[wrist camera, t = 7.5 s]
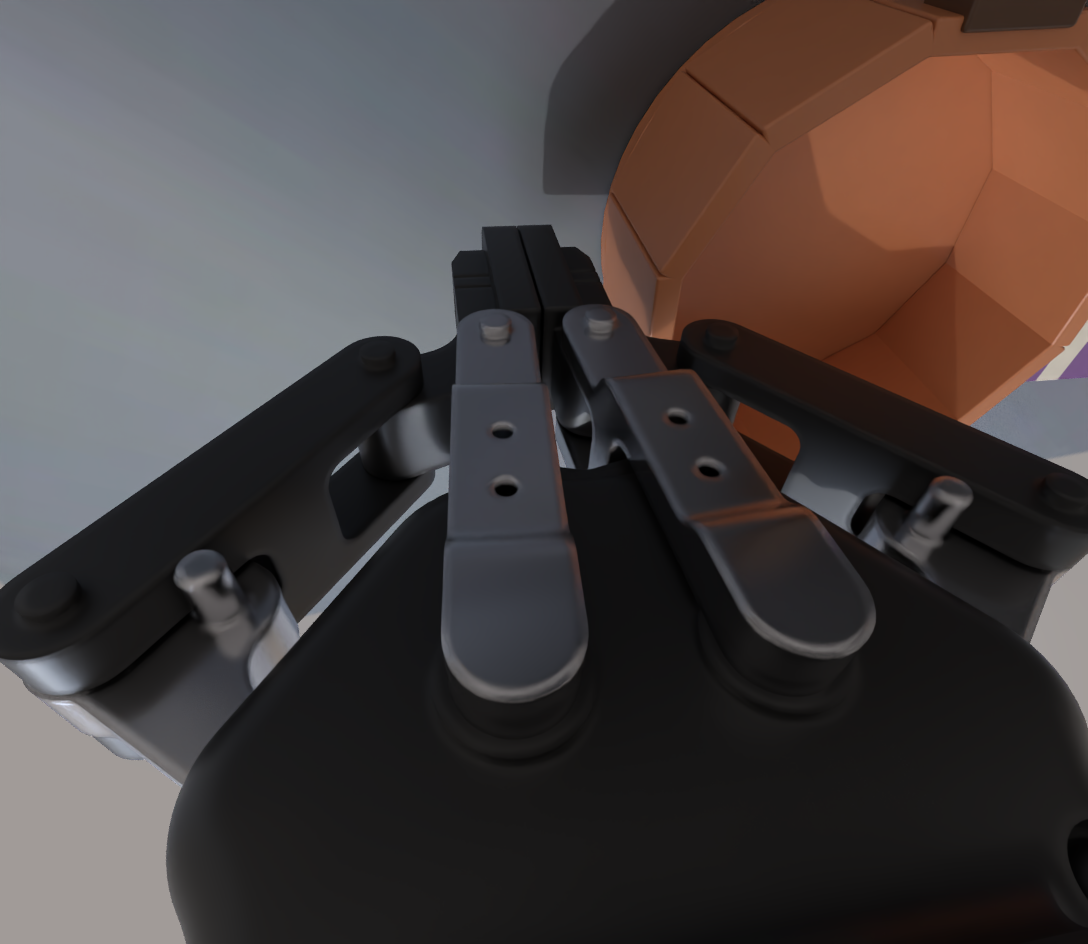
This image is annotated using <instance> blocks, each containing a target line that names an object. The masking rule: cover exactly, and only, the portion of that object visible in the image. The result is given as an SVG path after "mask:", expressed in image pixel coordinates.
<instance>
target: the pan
mask: <svg viewBox="0 0 1088 944" xmlns="http://www.w3.org/2000/svg"><path fill="white" fill-rule="evenodd" d="M1087 1H1088V0H765V1H764V2H762V3H761V4H759V5H757V6H756V7H754V8H752V9H751V10H749V11H748V12H746V13H744V14H743V15H741V16H739V17H738V18H736V19H735V20H733V21H732V22H731V23H730V24H728V25H727V26H726V27H725V28H723V29H722V30H721V31H720V32H718V33H717V34H716V35H714V36H713V37H712V38H711V39H709V40H708V41H707V42H706V43H705V44H704V45H703V46H702V47H701V48H700V49H699V50H698V51H697V52H696V53H695V54H693V55H692V56H691V57H690V58H689V59H688V60H687V61H686V62H685V63H684V64H683V65H682V66H681V67H680V68H679V70H678V71H677V72H676V73H675V74H674V76H673V77H672V78H671V79H670V81H669V82H668V83H667V84H666V85H665V87H664V88H663V89H662V90H661V92H660V93H659V94H658V95H657V97H656V98H655V100H654V101H653V103H652V104H651V106H650V107H649V109H648V110H647V112H646V113H645V115H644V116H643V118H642V119H641V121H640V123H639V124H638V126H637V128H636V130H635V131H634V133H633V135H632V137H631V139H630V141H629V143H628V145H627V147H626V149H625V151H624V153H623V155H622V158H621V160H620V163H619V166H618V168H617V171H616V174H615V176H614V179H613V182H612V184H611V188H610V192H609V196H608V200H607V204H606V208H605V212H604V220H603V228H602V236H601V265H602V271H603V278H604V281H603V287H604V289H605V291H606V293H607V296H608V298H609V300H610V302H611V304H612V306H614V307H617V308H620V309H622V310H624V311H626V312H628V313H629V314H630V315H631V316H633V318H634V319H635V320H636V322H637V323H638V325H639V326H640V328H641V329H642V331H643V333H644V334H645V336H649V337H654V338H660V339H668V340H675V341H680V340H681V335H682V331H683V329H684V328H685V327H686V326H687V325H688V324H690V323H692V322H694V321H697V320H702V319H719V320H725V321H729V322H733V323H736V324H738V325H741V326H743V327H745V328H748V329H750V330H752V331H754V332H757V333H759V334H761V335H764V336H766V337H768V338H770V339H773V340H775V341H777V342H779V343H782V344H784V345H786V346H789V347H791V348H793V349H795V350H798V351H800V352H802V353H804V354H807V355H809V356H811V357H814V358H816V359H818V360H820V361H823V362H825V363H827V364H830V365H832V366H834V367H836V368H839V369H841V370H843V371H845V372H848V373H850V374H852V375H855V376H857V377H859V378H861V379H864V380H866V381H868V382H870V383H873V384H875V385H877V386H880V387H882V388H884V389H886V390H889V391H891V392H893V393H896V394H898V395H900V396H902V397H905V398H907V399H909V400H911V401H914V402H916V403H918V404H921V405H923V406H925V407H927V408H930V409H932V410H934V411H936V412H939V413H941V414H943V415H946V416H948V417H950V418H952V419H955V420H957V421H959V422H961V423H964V424H966V425H968V426H970V425H971V424H972V423H974V422H975V421H976V420H977V419H979V418H980V417H981V416H982V415H984V414H985V413H986V412H987V411H989V410H990V409H991V408H993V407H994V406H995V405H996V404H998V403H999V402H1000V401H1001V400H1003V399H1004V398H1005V397H1006V396H1008V395H1009V394H1010V393H1011V392H1013V391H1014V390H1015V389H1016V388H1018V387H1019V386H1020V385H1022V384H1023V383H1024V382H1025V381H1027V380H1028V379H1029V378H1030V377H1032V376H1033V375H1034V374H1035V373H1037V372H1038V371H1039V370H1040V369H1042V368H1043V367H1044V366H1045V365H1047V364H1048V363H1049V362H1050V361H1052V360H1053V359H1054V358H1056V357H1057V356H1058V355H1059V354H1061V353H1062V352H1063V351H1064V350H1065V348H1064V347H1063V346H1068V345H1070V344H1071V343H1072V341H1073V340H1074V338H1075V337H1076V336H1077V334H1078V333H1079V331H1080V330H1081V329H1082V327H1083V326H1084V325H1085V323H1086V322H1087V320H1088V7H1086V6H1085V5H1086V3H1087ZM733 426H734V427H735V429H736V430H737V431H738V432H740V433H742V434H744V435H746V436H748V437H749V438H751V439H753V440H755V441H757V442H759V443H761V444H763V445H765V446H766V447H768V448H770V449H772V450H774V451H776V452H778V453H780V454H781V455H783V456H785V457H787V458H789V459H791V460H793V461H795V459H796V457H797V455H798V453H799V450H800V441H799V438H798V436H797V435H796V433H795V432H794V431H793V430H792V429H791V428H790V427H788V426H786V425H784V424H782V423H780V422H778V421H776V420H774V419H772V418H770V417H768V416H766V415H764V414H763V413H761V412H759V411H757V410H755V409H753V408H751V407H749V406H747V405H745V404H743V403H741V402H740V405H739V408H738V411H737V414H736V417H735V420H734V423H733Z"/></svg>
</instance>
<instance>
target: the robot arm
mask: <svg viewBox="0 0 1088 944" xmlns="http://www.w3.org/2000/svg"><path fill="white" fill-rule="evenodd" d="M452 277H453V290H454V304H455V317H456V329H457V335H456V337H455V338H454V339H453V340H452V341H451V342H450V343H448V344H447V345H445V346H443V347H441V348H439V349H437V350H434V351H431V352H427V353H423V354H420V351H419V350H418V348H417V347H416V346H415V345H414V344H412V343H411V342H409V341H407V340H405V339H401V338H398V337H391V336H377V337H370V338H365V339H362V340H359V341H356V342H354V343H352V344H350V345H348V346H347V347H345V348H344V349H342V350H341V351H340V352H338V353H337V354H335V355H334V356H332V357H331V358H330V359H328V360H327V361H325V362H324V363H322V364H321V365H319V366H318V367H317V368H315V369H314V370H312V371H311V372H309V373H308V374H307V375H305V376H304V377H302V378H301V379H299V380H298V381H296V382H295V383H294V384H292V385H291V386H289V387H288V388H286V389H285V390H283V391H282V392H281V393H279V394H278V395H276V396H275V397H273V398H272V399H271V400H269V401H268V402H266V403H265V404H263V405H262V406H260V407H259V408H258V409H256V410H255V411H253V412H252V413H250V414H249V415H248V416H246V417H245V418H243V419H242V420H240V421H239V422H237V423H236V424H235V425H233V426H232V427H230V428H229V429H227V430H226V431H224V432H223V433H222V434H220V435H219V436H217V437H216V438H214V439H213V440H212V441H210V442H209V443H207V444H206V445H204V446H203V447H201V448H200V449H199V450H197V451H196V452H194V453H193V454H191V455H190V456H189V457H187V458H186V459H184V460H183V461H181V462H180V463H178V464H177V465H176V466H174V467H173V468H171V469H170V470H168V471H167V472H165V473H164V474H163V475H161V476H160V477H158V478H157V479H155V480H154V481H153V482H151V483H150V484H148V485H147V486H145V487H144V488H142V489H141V490H140V491H138V492H137V493H135V494H134V495H132V496H131V497H130V498H128V499H127V500H125V501H124V502H122V503H121V504H119V505H118V506H117V507H115V508H114V509H112V510H111V511H109V512H108V513H106V514H105V515H104V516H102V517H101V518H99V519H98V520H96V521H95V522H94V523H92V524H91V525H89V526H88V527H86V528H85V529H83V530H82V531H81V532H79V533H78V534H76V535H75V536H73V537H72V538H70V539H69V540H68V541H66V542H65V543H63V544H62V545H60V546H59V547H58V548H56V549H55V550H53V551H52V552H50V553H49V554H47V555H46V556H45V557H43V558H42V559H40V560H39V561H37V562H36V563H35V564H33V565H32V566H30V567H29V568H27V569H26V570H24V571H23V572H22V573H20V574H19V575H17V576H16V577H15V578H13V579H12V580H11V581H9V582H8V583H7V584H6V585H5V586H4V587H2V588H1V589H0V662H1V663H2V664H3V665H5V666H6V667H7V668H8V669H10V670H11V671H12V672H13V673H15V674H16V675H17V676H18V677H19V678H21V679H22V680H23V683H24V685H25V686H26V688H27V689H28V690H29V691H30V692H31V693H32V694H34V695H35V696H36V697H37V698H39V699H40V700H41V701H43V702H44V703H45V704H46V705H47V706H49V707H50V708H51V709H52V710H54V711H55V712H56V713H58V714H59V715H60V716H61V717H63V718H64V719H65V720H66V721H68V722H69V723H70V724H71V725H73V726H74V727H75V728H76V729H78V730H79V731H80V732H82V733H84V734H86V735H89V736H93V737H94V738H95V739H96V740H97V741H99V742H100V743H101V744H102V745H104V746H105V747H106V748H107V749H108V750H110V751H111V752H112V753H114V754H115V755H116V756H119V757H121V758H124V759H129V760H143V759H145V760H146V761H147V762H149V763H150V764H151V765H153V766H154V767H155V768H157V769H158V770H159V771H160V772H162V773H163V774H164V775H166V776H167V777H168V778H169V779H171V780H172V781H173V782H175V783H176V784H177V785H179V786H180V787H181V790H180V793H179V796H178V798H177V801H176V804H175V807H174V810H173V814H172V818H171V822H170V826H169V833H168V840H167V851H166V867H167V879H168V885H169V891H170V895H171V899H172V903H173V905H174V908H175V911H176V913H177V916H178V919H179V922H180V924H181V927H182V930H183V934H184V937H185V941H186V944H1088V728H1087V724H1086V721H1085V718H1084V716H1083V713H1082V711H1081V709H1080V707H1079V704H1078V702H1077V701H1076V699H1075V697H1074V695H1073V694H1072V692H1071V690H1070V689H1069V687H1068V685H1067V684H1066V683H1065V681H1064V680H1063V679H1062V677H1061V676H1060V675H1059V673H1058V672H1057V671H1056V669H1055V668H1054V667H1053V666H1052V665H1051V664H1050V663H1049V662H1048V661H1047V660H1046V658H1045V657H1044V656H1043V655H1042V654H1041V653H1039V652H1038V651H1037V650H1036V649H1035V648H1034V647H1033V646H1032V645H1031V644H1030V641H1031V639H1032V636H1033V633H1034V631H1035V628H1036V625H1037V622H1038V620H1039V617H1040V615H1041V612H1042V609H1043V607H1044V604H1045V601H1046V599H1047V596H1048V593H1049V591H1050V588H1051V586H1052V585H1053V584H1055V583H1056V582H1057V581H1058V580H1059V579H1060V578H1061V577H1062V576H1063V575H1064V574H1065V573H1067V572H1068V571H1069V570H1070V569H1071V568H1072V567H1073V566H1074V565H1075V564H1077V563H1078V562H1079V561H1080V560H1081V559H1082V558H1083V557H1084V556H1085V555H1086V554H1088V479H1086V478H1084V477H1083V476H1081V475H1079V474H1077V473H1075V472H1073V471H1070V470H1068V469H1066V468H1064V467H1062V466H1059V465H1057V464H1055V463H1052V462H1050V461H1048V460H1046V459H1043V458H1041V457H1039V456H1037V455H1034V454H1032V453H1030V452H1027V451H1025V450H1023V449H1021V448H1018V447H1016V446H1014V445H1012V444H1009V443H1007V442H1005V441H1002V440H1000V439H998V438H996V437H993V436H991V435H989V434H987V433H984V432H982V431H980V430H977V429H975V428H973V427H971V426H968V425H966V424H964V423H961V422H959V421H957V420H955V419H952V418H950V417H948V416H946V415H943V414H941V413H939V412H936V411H934V410H932V409H930V408H927V407H925V406H923V405H921V404H918V403H916V402H914V401H911V400H909V399H907V398H905V397H902V396H900V395H898V394H896V393H893V392H891V391H889V390H886V389H884V388H882V387H880V386H877V385H875V384H873V383H870V382H868V381H866V380H864V379H861V378H859V377H857V376H855V375H852V374H850V373H848V372H845V371H843V370H841V369H839V368H836V367H834V366H832V365H830V364H827V363H825V362H823V361H820V360H818V359H816V358H814V357H811V356H809V355H807V354H804V353H802V352H800V351H798V350H795V349H793V348H791V347H789V346H786V345H784V344H782V343H779V342H777V341H775V340H773V339H770V338H768V337H766V336H764V335H761V334H759V333H757V332H754V331H752V330H750V329H748V328H745V327H743V326H741V325H738V324H736V323H733V322H729V321H725V320H719V319H702V320H697V321H694V322H692V323H690V324H688V325H687V326H686V327H685V328H684V329H683V331H682V335H681V340H680V341H675V340H668V339H660V338H654V337H649V336H645V334H644V333H643V331H642V329H641V328H640V326H639V325H638V323H637V322H636V320H635V319H634V318H633V316H631V315H630V314H629V313H628V312H626V311H624V310H622V309H620V308H617V307H614V306H612V304H611V302H610V300H609V298H608V296H607V293H606V291H605V289H604V287H603V285H602V283H601V282H600V278H599V276H598V274H597V272H595V268H594V266H593V263H592V261H591V259H590V257H589V256H587V255H586V254H584V253H583V252H582V251H580V250H579V249H578V248H576V247H560V245H559V243H558V240H557V238H556V235H555V233H554V230H553V228H552V226H551V225H523V226H517V228H516V226H494V227H482V250H477V251H460V252H459V253H458V254H457V256H456V257H455V259H454V260H453V261H452ZM740 402H741V403H743V404H745V405H747V406H749V407H751V408H753V409H755V410H757V411H759V412H761V413H763V414H764V415H766V416H768V417H770V418H772V419H774V420H776V421H778V422H780V423H782V424H784V425H786V426H788V427H790V428H791V429H792V430H793V431H794V432H795V433H796V435H797V436H798V438H799V441H800V450H799V453H798V455H797V457H796V459H795V461H793V460H791V459H789V458H787V457H785V456H783V455H781V454H780V453H778V452H776V451H774V450H772V449H770V448H768V447H766V446H765V445H763V444H761V443H759V442H757V441H755V440H753V439H751V438H749V437H748V436H746V435H744V434H742V433H740V432H738V431H737V430H736V429H735V427H734V426H733V423H734V420H735V417H736V414H737V411H738V408H739V405H740ZM551 410H555V412H556V427H555V432H554V425H553V419H552V412H551ZM555 437H556V439H555ZM556 441H557V443H558V446H559V449H560V451H561V454H562V456H563V459H564V462H565V464H566V467H567V468H562V467H560V466H559V459H558V452H557V446H556ZM357 447H358V448H359V453H357V454H356V455H355V456H354V457H353V458H352V459H350V460H349V461H348V462H347V463H346V464H345V465H344V466H342V467H341V468H340V469H339V470H338V471H337V472H336V473H334V474H333V475H332V476H331V474H332V472H333V470H334V469H335V467H336V466H337V465H338V464H339V463H340V462H341V461H342V460H343V459H344V458H345V457H346V456H348V455H349V454H350V453H351V452H352V451H353V450H355V449H356V448H357ZM447 465H449V493H446V494H444V495H441V496H439V497H438V498H436V499H434V500H432V501H430V502H428V503H427V504H425V505H424V506H422V507H421V508H419V509H418V510H416V511H415V512H414V513H413V514H412V515H410V516H409V517H408V518H407V519H406V520H405V521H404V522H403V523H402V524H401V525H400V526H399V527H398V528H397V529H396V530H395V532H394V533H393V534H392V535H391V536H390V537H389V538H388V539H387V541H386V542H385V543H384V544H383V545H382V546H381V547H380V548H379V550H378V551H377V552H376V553H375V554H374V555H373V556H372V557H371V559H370V560H369V561H368V562H367V563H366V564H365V565H364V566H363V568H362V569H361V570H360V571H359V572H358V573H357V574H356V575H355V577H354V578H353V579H352V580H351V581H350V582H349V583H348V584H347V586H346V587H345V588H344V589H343V590H342V591H341V592H340V594H339V595H338V596H337V597H336V598H335V599H334V600H333V601H332V603H331V604H330V605H329V606H328V607H327V608H326V609H325V610H324V612H323V613H322V614H321V615H320V616H319V617H318V618H317V620H316V621H315V622H314V623H313V624H312V625H311V626H310V627H309V628H308V630H307V631H306V632H305V633H304V634H303V635H302V636H301V637H300V636H299V628H298V623H299V622H300V621H301V620H302V619H303V618H304V616H305V615H306V614H307V613H308V612H309V611H310V610H311V609H312V608H313V607H314V606H315V605H316V604H317V603H318V602H319V601H320V600H321V599H322V598H323V597H324V596H325V595H326V594H327V593H328V592H329V591H330V589H331V588H332V587H333V586H334V585H335V584H336V583H337V582H338V581H339V580H340V579H341V578H342V577H343V576H344V575H345V574H346V573H347V572H348V571H349V570H350V569H351V568H352V567H353V566H354V565H355V564H356V562H357V561H358V560H359V559H360V558H361V557H362V556H363V555H364V554H365V553H366V552H367V551H368V550H369V549H370V548H371V547H372V546H373V545H374V544H375V543H376V542H377V541H378V540H379V539H380V538H381V537H382V536H383V534H384V533H385V532H386V531H387V530H388V529H389V528H390V527H391V526H392V525H393V524H394V523H395V522H396V521H397V520H398V519H399V518H400V517H401V516H402V515H403V514H404V513H405V512H406V511H407V510H408V509H409V507H410V506H411V505H412V504H413V503H414V502H415V501H416V500H417V499H418V498H419V497H420V496H421V495H422V494H423V493H424V492H425V491H426V490H427V489H428V488H429V487H430V485H431V484H432V482H433V480H434V477H435V470H436V469H439V468H442V467H445V466H447ZM299 638H300V639H299Z"/></svg>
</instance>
